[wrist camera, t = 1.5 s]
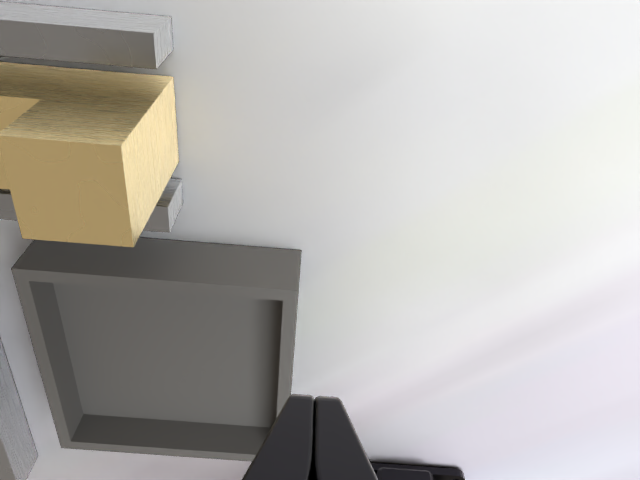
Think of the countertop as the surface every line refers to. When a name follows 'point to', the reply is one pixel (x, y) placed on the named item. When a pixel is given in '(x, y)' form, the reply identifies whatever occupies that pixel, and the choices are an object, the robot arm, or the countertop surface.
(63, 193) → the tan boxy piece
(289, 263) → the gray square tray
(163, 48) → the key guide
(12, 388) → the socket collar
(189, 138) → the countertop surface
